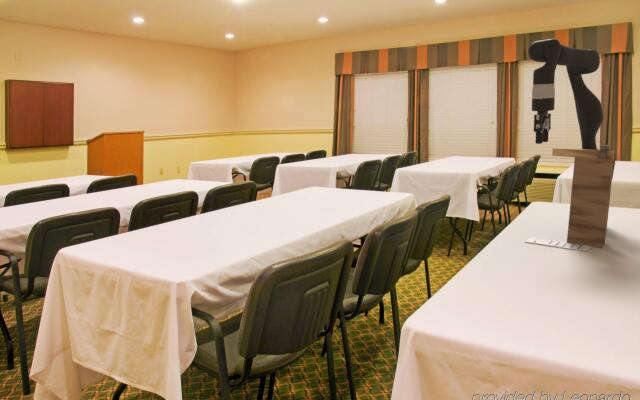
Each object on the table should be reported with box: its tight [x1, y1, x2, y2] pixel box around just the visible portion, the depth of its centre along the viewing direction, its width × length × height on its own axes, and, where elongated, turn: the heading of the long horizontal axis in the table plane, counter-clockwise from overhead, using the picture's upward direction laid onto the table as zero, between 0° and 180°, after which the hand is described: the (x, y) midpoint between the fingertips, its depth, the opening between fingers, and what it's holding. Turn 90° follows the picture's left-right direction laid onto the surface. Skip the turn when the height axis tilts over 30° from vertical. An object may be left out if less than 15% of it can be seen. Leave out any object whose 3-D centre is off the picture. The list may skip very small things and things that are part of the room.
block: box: [551, 147, 615, 159], centre depth 188 cm, size 3×20×3 cm, turn 53°
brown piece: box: [566, 144, 614, 249], centre depth 188 cm, size 6×12×37 cm, turn 53°
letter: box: [524, 237, 592, 253], centre depth 189 cm, size 8×21×1 cm, turn 53°
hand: (541, 142), depth 187 cm, fingers open, 8 cm apart
